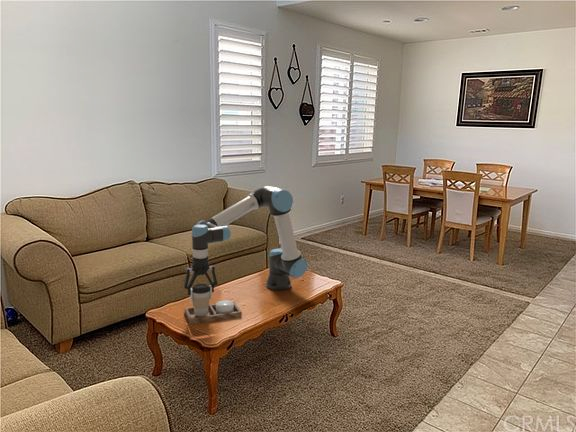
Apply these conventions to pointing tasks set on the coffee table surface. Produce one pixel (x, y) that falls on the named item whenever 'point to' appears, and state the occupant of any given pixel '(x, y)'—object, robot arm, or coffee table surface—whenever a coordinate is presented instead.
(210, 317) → the box
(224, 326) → the coffee table surface
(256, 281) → the coffee table surface
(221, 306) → the white ceramic dome
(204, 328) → the coffee table surface
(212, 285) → the robot arm
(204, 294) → the coffee cup
